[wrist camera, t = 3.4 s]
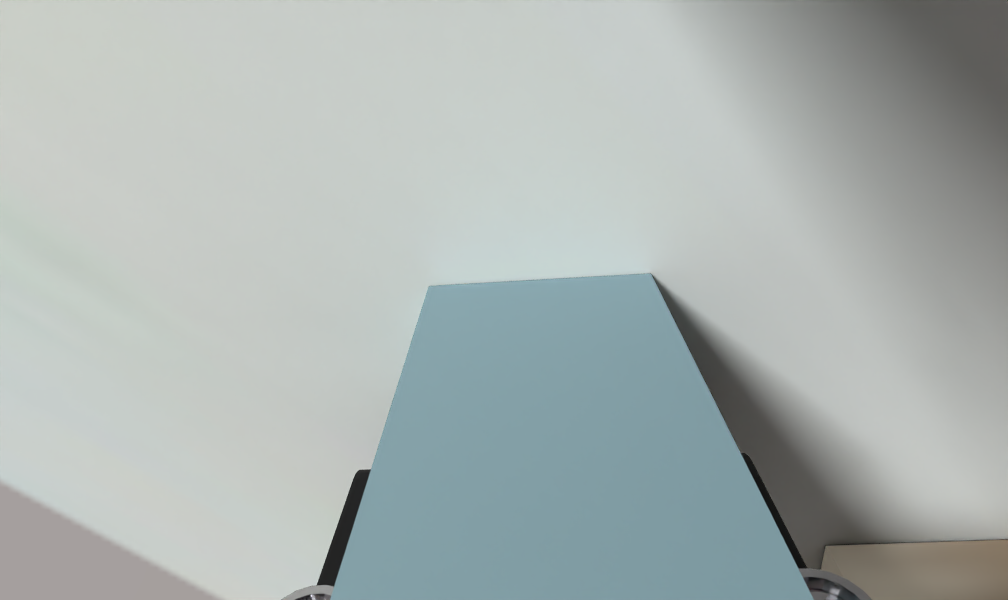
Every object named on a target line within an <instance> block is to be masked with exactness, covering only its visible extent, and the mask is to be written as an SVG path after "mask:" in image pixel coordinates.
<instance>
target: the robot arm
mask: <svg viewBox="0 0 1008 600" xmlns="http://www.w3.org/2000/svg"><path fill="white" fill-rule="evenodd" d="M741 455H742V457H743V459H744V461H745V463H746V465H747V467H748V469H749V471H750V473H751V475H752V477H753V479H754V481H755V483H756V485H757V487H758V489H759V491H760V493H761V495H762V497H763V499H764V501H765V503H766V505H767V507H768V509H769V511H770V513H771V515H772V517H773V519H774V521H775V523H776V525H777V527H778V529H779V531H780V533H781V535H782V537H783V539H784V541H785V543H786V545H787V547H788V549H789V551H790V553H791V555H792V557H793V559H794V561H795V563H796V565H797V567H798V569H799V571H800V573H801V575H802V577H803V579H804V581H805V583H806V585H807V587H808V589H809V591H810V593H811V595H812V597H813V599H814V600H872V599H871V598H870V597H869V596H868V595H867V594H866V593H865V592H864V591H863V590H862V589H860V588H859V587H858V586H856V585H855V584H853V583H852V582H850V581H849V580H847V579H845V578H843V577H840V576H838V575H836V574H834V573H831V572H827V571H823V570H818V569H814V568H813V569H807V567H806V565H805V563H804V561H803V559H802V557H801V555H800V554H799V552H798V550H797V548H796V546H795V544H794V542H793V540H792V538H791V536H790V534H789V532H788V530H787V528H786V526H785V524H784V523H783V521H782V519H781V517H780V515H779V513H778V511H777V509H776V507H775V505H774V503H773V501H772V499H771V497H770V495H769V493H768V491H767V490H766V488H765V486H764V484H763V482H762V480H761V478H760V476H759V474H758V472H757V470H756V468H755V466H754V464H753V462H752V461H751V459H750V458H749V456H748V455H746V454H745V453H741ZM370 471H371V469H370V470H359V471H358V472H357V473H356V474H355V477H354V479H353V482H352V485H351V487H350V490H349V493H348V496H347V499H346V502H345V505H344V508H343V511H342V514H341V516H340V519H339V522H338V525H337V528H336V531H335V534H334V537H333V540H332V543H331V545H330V548H329V551H328V554H327V557H326V560H325V563H324V566H323V569H322V572H321V574H320V577H319V580H318V583H317V585H316V586H309V587H306V588H303V589H300V590H297V591H295V592H293V593H291V594H290V595H288V596H286V597H284V598H283V599H281V600H330V598H331V595H332V592H333V589H334V585H335V582H336V579H337V576H338V573H339V570H340V566H341V563H342V560H343V557H344V554H345V551H346V547H347V544H348V541H349V538H350V535H351V532H352V528H353V525H354V522H355V519H356V516H357V513H358V509H359V506H360V503H361V500H362V497H363V493H364V490H365V487H366V484H367V481H368V478H369V474H370Z"/></svg>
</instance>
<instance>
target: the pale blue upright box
mask: <svg viewBox="0 0 1008 600" xmlns="http://www.w3.org/2000/svg"><path fill="white" fill-rule="evenodd" d="M330 600H814V599H813V597H812V595H811V593H810V591H809V589H808V587H807V585H806V583H805V581H804V579H803V577H802V575H801V573H800V571H799V569H798V567H797V565H796V563H795V561H794V559H793V557H792V555H791V553H790V551H789V549H788V547H787V545H786V543H785V541H784V539H783V537H782V535H781V533H780V531H779V529H778V527H777V525H776V523H775V521H774V519H773V517H772V515H771V513H770V511H769V509H768V507H767V505H766V503H765V501H764V499H763V497H762V495H761V493H760V491H759V489H758V487H757V485H756V483H755V481H754V479H753V477H752V475H751V473H750V471H749V469H748V467H747V465H746V463H745V461H744V459H743V457H742V455H741V453H740V451H739V449H738V447H737V445H736V443H735V441H734V439H733V437H732V435H731V433H730V431H729V429H728V427H727V425H726V423H725V421H724V419H723V417H722V415H721V413H720V411H719V409H718V407H717V405H716V403H715V401H714V399H713V397H712V395H711V393H710V391H709V389H708V387H707V385H706V383H705V381H704V379H703V377H702V375H701V373H700V371H699V369H698V367H697V365H696V363H695V361H694V359H693V357H692V355H691V353H690V351H689V349H688V347H687V345H686V343H685V341H684V339H683V337H682V335H681V333H680V331H679V329H678V327H677V325H676V323H675V321H674V319H673V317H672V315H671V313H670V311H669V309H668V307H667V305H666V303H665V301H664V299H663V297H662V295H661V293H660V291H659V289H658V287H657V285H656V283H655V281H654V279H653V277H652V275H651V273H650V274H632V275H614V276H597V277H579V278H562V279H544V280H526V281H509V282H491V283H474V284H456V285H438V286H429V287H428V290H427V294H426V297H425V300H424V303H423V306H422V309H421V313H420V316H419V319H418V322H417V325H416V328H415V332H414V335H413V338H412V341H411V344H410V348H409V351H408V354H407V357H406V360H405V363H404V367H403V370H402V373H401V376H400V379H399V382H398V386H397V389H396V392H395V395H394V398H393V401H392V405H391V408H390V411H389V414H388V417H387V421H386V424H385V427H384V430H383V433H382V436H381V440H380V443H379V446H378V449H377V452H376V455H375V459H374V462H373V465H372V468H371V471H370V474H369V478H368V481H367V484H366V487H365V490H364V493H363V497H362V500H361V503H360V506H359V509H358V513H357V516H356V519H355V522H354V525H353V528H352V532H351V535H350V538H349V541H348V544H347V547H346V551H345V554H344V557H343V560H342V563H341V566H340V570H339V573H338V576H337V579H336V582H335V585H334V589H333V592H332V595H331V598H330Z"/></svg>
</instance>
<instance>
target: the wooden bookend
mask: <svg viewBox="0 0 1008 600" xmlns="http://www.w3.org/2000/svg"><path fill="white" fill-rule="evenodd" d="M821 570H823V571H827V572H831V573H834V574H836V575H838V576H840V577H843V578H845V579H847V580H849V581H850V582H852V583H853V584H855V585H856V586H858V587H859V588H860V589H862V590H863V591H864V592H865V593H866V594H867V595H868V596H869V597H870V598H871V599H872V600H1008V540H982V541H953V542H924V543H895V544H865V545H836V546H826V547H825V552H824V557H823V561H822V566H821Z"/></svg>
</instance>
